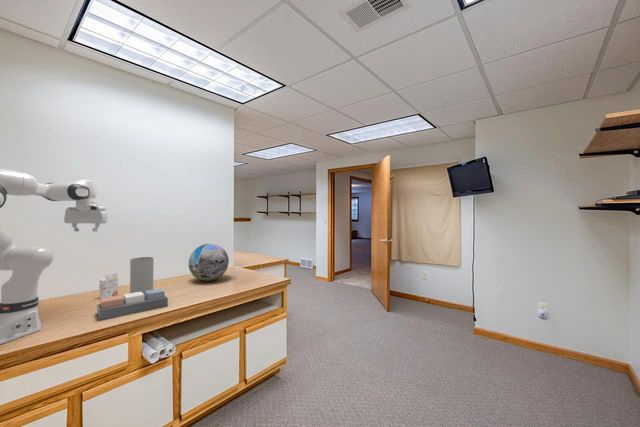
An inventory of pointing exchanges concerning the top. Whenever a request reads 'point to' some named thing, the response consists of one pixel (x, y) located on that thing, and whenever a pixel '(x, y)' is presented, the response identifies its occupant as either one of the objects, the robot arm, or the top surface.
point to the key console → (131, 308)
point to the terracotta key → (111, 302)
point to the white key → (133, 298)
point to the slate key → (154, 294)
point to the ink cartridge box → (108, 286)
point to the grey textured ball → (208, 262)
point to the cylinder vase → (141, 274)
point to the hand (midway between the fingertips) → (85, 231)
